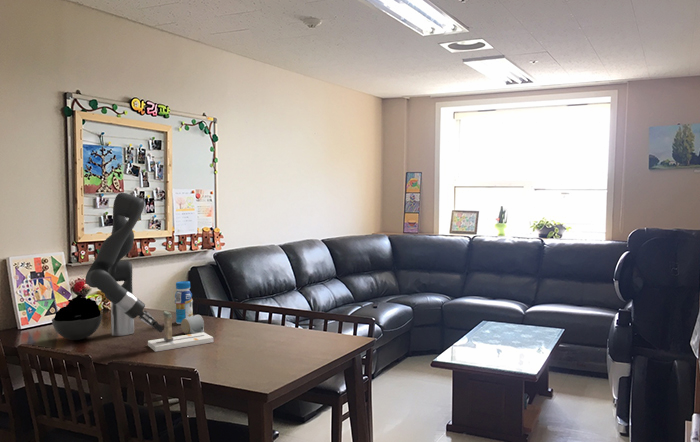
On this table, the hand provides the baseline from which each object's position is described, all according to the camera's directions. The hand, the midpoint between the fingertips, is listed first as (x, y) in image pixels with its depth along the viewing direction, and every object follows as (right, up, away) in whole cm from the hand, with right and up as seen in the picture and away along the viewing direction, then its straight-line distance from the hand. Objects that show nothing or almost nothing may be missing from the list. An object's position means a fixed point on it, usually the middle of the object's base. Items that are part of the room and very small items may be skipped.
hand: (162, 330), depth 240 cm
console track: (+6, -6, +4) cm, 10 cm away
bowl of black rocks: (-42, -7, +17) cm, 46 cm away
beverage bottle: (-4, -5, +46) cm, 47 cm away
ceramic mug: (+7, -6, +24) cm, 25 cm away
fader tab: (+2, -4, +2) cm, 5 cm away
